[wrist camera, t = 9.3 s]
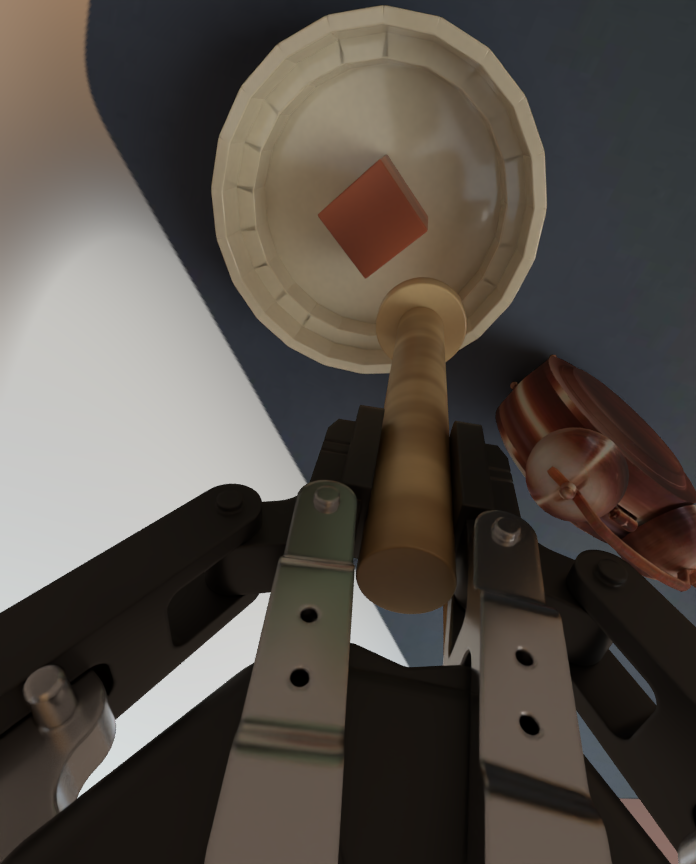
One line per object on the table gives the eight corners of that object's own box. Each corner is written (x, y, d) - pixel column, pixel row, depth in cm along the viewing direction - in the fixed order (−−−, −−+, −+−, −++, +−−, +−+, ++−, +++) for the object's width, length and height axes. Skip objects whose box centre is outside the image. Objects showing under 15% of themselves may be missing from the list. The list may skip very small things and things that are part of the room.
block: (330, 203, 27) (316, 215, 24) (386, 153, 26) (380, 158, 22) (372, 261, 29) (365, 279, 26) (429, 217, 27) (428, 230, 24)
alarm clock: (480, 376, 32) (510, 536, 20) (534, 322, 30) (606, 466, 18) (595, 461, 35) (686, 652, 22) (654, 417, 32) (794, 604, 20)
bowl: (189, 183, 29) (147, 194, 24) (418, -71, 21) (414, -117, 17) (356, 384, 34) (346, 420, 30) (582, 235, 27) (610, 256, 23)
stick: (360, 311, 22) (267, 556, 10) (433, 257, 20) (433, 471, 8) (410, 375, 24) (384, 662, 11) (482, 330, 22) (548, 609, 9)
